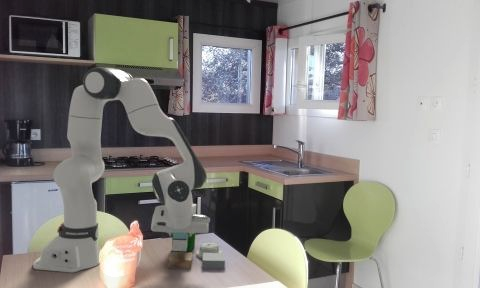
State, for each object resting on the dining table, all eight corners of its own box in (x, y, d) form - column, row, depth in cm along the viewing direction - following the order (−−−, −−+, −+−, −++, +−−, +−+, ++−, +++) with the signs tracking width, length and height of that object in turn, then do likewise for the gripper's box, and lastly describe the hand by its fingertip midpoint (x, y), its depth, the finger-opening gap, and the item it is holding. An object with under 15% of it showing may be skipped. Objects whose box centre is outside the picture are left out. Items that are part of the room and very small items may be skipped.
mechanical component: (192, 258, 165) (218, 261, 163) (193, 247, 165) (218, 250, 163) (200, 250, 175) (224, 252, 173) (200, 239, 174) (224, 242, 173)
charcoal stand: (202, 268, 155) (202, 260, 155) (202, 260, 163) (203, 252, 163) (224, 268, 156) (224, 260, 155) (224, 260, 164) (224, 253, 163)
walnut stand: (168, 268, 154) (168, 259, 154) (170, 259, 162) (170, 252, 162) (191, 268, 155) (191, 260, 155) (192, 260, 163) (192, 252, 163)
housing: (172, 250, 156) (173, 227, 155) (173, 246, 160) (174, 224, 159) (186, 251, 156) (187, 228, 155) (187, 247, 160) (188, 224, 160)
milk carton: (169, 250, 172) (170, 201, 170) (177, 243, 181) (178, 196, 179) (190, 253, 170) (191, 203, 168) (197, 246, 179) (199, 198, 177)
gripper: (210, 208, 150) (209, 227, 161) (151, 206, 149) (153, 225, 160) (209, 224, 146) (208, 243, 157) (148, 222, 145) (151, 241, 156)
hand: (180, 234), depth 158 cm, fingers closed on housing, 5 cm apart
